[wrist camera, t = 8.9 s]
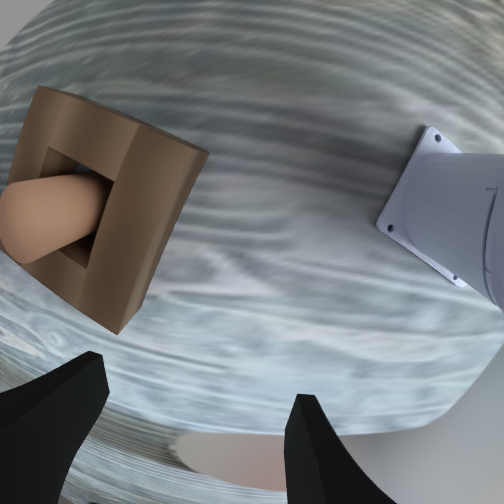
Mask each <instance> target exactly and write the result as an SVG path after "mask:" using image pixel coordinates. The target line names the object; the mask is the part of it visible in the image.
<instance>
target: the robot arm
mask: <svg viewBox="0 0 504 504" xmlns="http://www.w3.org/2000/svg"><path fill="white" fill-rule="evenodd" d="M435 135H437V137H438V141H436V140H435ZM389 225H392V230H391V231H388V230H387V228H388V226H389ZM376 226H377V228H378V229H379V230H380V231H381V232H383V233H384V234H386V235H387V236H389V237H390V238H392V239H393V240H395V241H396V242H398V243H399V244H401V245H402V246H403V247H405V248H406V249H408V250H409V251H411V252H412V253H413V254H415V255H416V256H418V257H419V258H420V259H422V260H423V261H425V262H426V263H427V264H429V265H430V266H431V267H433V268H434V269H435V270H437V271H438V272H439V273H441V274H442V275H443V276H445V277H446V278H447V279H449V280H450V281H451V282H453V283H454V284H455V285H456V286H458V287H459V288H463V287H464V286H465V285H466V284H468V285H470V286H471V287H473V288H474V289H475V290H477V291H478V292H479V293H481V294H482V295H483V296H484V297H486V298H487V299H488V300H490V301H491V302H492V303H494V304H495V305H496V306H498V307H499V308H500V309H501V310H502V312H503V314H504V155H502V154H476V153H462V152H461V151H460V150H459V149H458V148H457V147H456V146H455V145H454V144H453V143H452V142H450V141H449V140H448V139H447V138H446V137H445V136H444V135H443V134H442V133H440V132H439V131H438V130H437V129H436V128H434V127H433V126H429V127H426V128H425V130H424V132H423V134H422V136H421V138H420V140H419V142H418V144H417V146H416V148H415V150H414V152H413V154H412V156H411V158H410V160H409V162H408V164H407V166H406V168H405V170H404V172H403V174H402V176H401V178H400V180H399V182H398V183H397V185H396V187H395V189H394V191H393V193H392V194H391V196H390V198H389V200H388V202H387V203H386V205H385V207H384V209H383V210H382V212H381V214H380V216H379V217H378V219H377V222H376ZM454 274H455V277H454V278H453V276H454ZM109 393H110V391H109V387H108V382H107V377H106V372H105V367H104V362H103V356H102V355H101V354H98V353H95V352H92V351H87V352H85V353H83V354H81V355H80V356H78V357H76V358H74V359H72V360H71V361H69V362H67V363H65V364H63V365H62V366H60V367H58V368H56V369H54V370H52V371H50V372H49V373H47V374H45V375H43V376H40V377H38V378H36V379H34V380H32V381H30V382H28V383H26V384H23V385H21V386H18V387H16V388H13V389H10V390H7V391H4V392H1V393H0V504H58V500H59V496H60V493H61V490H62V487H63V484H64V481H65V478H66V476H67V473H68V471H69V468H70V466H71V464H72V461H73V459H74V457H75V455H76V453H77V451H78V450H79V448H80V446H81V445H82V443H83V441H84V440H85V438H86V437H87V435H88V433H89V432H90V430H91V428H92V427H93V425H94V424H95V422H96V420H97V419H98V417H99V415H100V414H101V412H102V409H103V407H104V405H105V403H106V400H107V398H108V395H109ZM284 460H285V473H286V487H287V500H288V504H397V503H395V502H394V501H393V500H392V499H391V498H390V497H388V496H387V495H386V494H385V493H384V492H383V491H382V490H380V489H379V488H378V487H377V486H376V485H375V484H374V483H373V482H372V480H370V478H369V477H368V476H367V475H366V474H365V473H364V472H363V470H362V469H361V468H360V467H359V466H358V464H357V463H356V462H355V460H354V459H353V458H352V456H351V455H350V454H349V452H348V451H347V450H346V448H345V447H344V445H343V444H342V442H341V440H340V439H339V437H338V436H337V434H336V433H335V431H334V429H333V428H332V426H331V424H330V422H329V421H328V419H327V417H326V415H325V413H324V412H323V410H322V408H321V406H320V404H319V402H318V400H317V398H316V397H315V395H307V394H297V396H296V399H295V402H294V405H293V408H292V411H291V414H290V416H289V419H288V422H287V425H286V428H285V440H284Z"/></svg>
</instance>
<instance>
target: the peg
mask: <svg viewBox="0 0 504 504" xmlns="http://www.w3.org/2000/svg"><path fill="white" fill-rule="evenodd" d="M114 182H115V181H113V180H111V179H109V178H107V177H105V176H104V175H102V174H100V173H98V172H88V173H79V174H70V175H62V176H54V177H47V178H40V179H34V180H28V181H22V182H16V183H12V184H10V185H8V186H7V187H6V188H5V189H4V191H3V192H2V194H1V196H0V238H1V241H2V243H3V245H4V247H5V249H6V251H7V252H8V253H9V255H10V256H11V257H12V258H13V259H15V260H16V261H18V262H20V263H23V264H27V263H31V262H33V261H35V260H37V259H39V258H41V257H43V256H45V255H47V254H49V253H51V252H53V251H55V250H57V249H59V248H61V247H63V246H65V245H67V244H69V243H72V242H74V241H76V240H78V239H80V238H82V237H85V236H87V235H89V234H91V233H93V232H96V231H98V228H99V225H100V222H101V219H102V216H103V213H104V210H105V207H106V204H107V201H108V198H109V196H110V193H111V190H112V188H113V185H114Z"/></svg>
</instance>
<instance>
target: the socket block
mask: <svg viewBox="0 0 504 504" xmlns="http://www.w3.org/2000/svg"><path fill="white" fill-rule="evenodd" d="M208 155H209V152H207V151H205V150H203V149H201V148H199V147H197V146H195V145H193V144H191V143H189V142H187V141H184V140H182V139H180V138H178V137H176V136H174V135H171V134H169V133H167V132H165V131H163V130H160V129H158V128H156V127H154V126H151V125H149V124H147V123H145V122H142V121H140V120H138V119H135V118H133V117H131V116H128V115H126V114H123V113H121V112H119V111H116V110H114V109H111V108H109V107H106V106H104V105H101V104H99V103H96V102H93V101H91V100H88V99H86V98H83V97H80V96H78V95H75V94H72V93H68V92H64V91H60V90H56V89H52V88H48V87H44V86H40V85H39V86H38V88H37V90H36V93H35V95H34V98H33V100H32V103H31V105H30V108H29V111H28V113H27V116H26V119H25V122H24V125H23V128H22V131H21V134H20V137H19V140H18V144H17V147H16V151H15V154H14V158H13V162H12V166H11V170H10V174H9V179H8V183H7V186H8V185H10V184H12V183H16V182H22V181H28V180H34V179H40V178H47V177H54V176H62V175H70V174H74V173H75V170H76V167H77V164H78V162H79V163H81V164H83V165H85V166H87V167H88V168H90V169H92V170H94V171H96V172H98V173H100V174H102V175H104V176H105V177H107V178H109V179H111V180H113V181H115V182H114V185H113V188H112V190H111V193H110V196H109V198H108V201H107V204H106V207H105V210H104V213H103V216H102V219H101V222H100V225H99V228H98V231H97V235H96V238H95V237H94V236H92V235H91V234H89V235H87V236H85V237H82V238H80V239H78V240H76V241H74V242H72V243H69V244H67V245H65V246H63V247H61V248H59V249H57V250H55V251H53V252H51V253H49V254H47V255H45V256H43V257H41V258H39V259H37V260H35V261H33V262H31V263H27V264H23V263H20V262H18V261H16V260H15V259H13V258H12V257H11V256H10V255H9V253H8V252H7V251H6V249H5V247H4V245H3V243H2V241H1V238H0V249H1V250H2V251H3V252H4V253H5V254H7V255H8V256H9V257H10V258H11V259H12V260H13V261H15V262H16V263H17V264H18V265H19V266H21V267H22V268H23V269H24V270H25V271H27V272H28V273H29V274H30V275H32V276H33V277H34V278H35V279H37V280H38V281H39V282H40V283H42V284H43V285H44V286H46V287H47V288H48V289H49V290H51V291H52V292H54V293H55V294H56V295H58V296H59V297H60V298H62V299H63V300H64V301H66V302H67V303H69V304H70V305H72V306H73V307H74V308H76V309H77V310H79V311H80V312H82V313H83V314H85V315H86V316H88V317H89V318H91V319H92V320H94V321H95V322H97V323H98V324H100V325H101V326H103V327H105V328H106V329H108V330H109V331H111V332H113V333H114V334H116V335H118V334H119V333H120V331H121V330H122V329H123V328H124V327H125V325H126V324H127V323H128V322H129V321H130V319H131V318H132V317H133V316H134V315H135V314H136V312H137V311H138V310H139V309H140V308H141V305H142V303H143V300H144V298H145V295H146V292H147V290H148V287H149V285H150V282H151V280H152V277H153V275H154V272H155V270H156V268H157V265H158V263H159V260H160V258H161V256H162V253H163V251H164V248H165V246H166V244H167V242H168V239H169V237H170V235H171V232H172V230H173V228H174V226H175V223H176V221H177V219H178V217H179V215H180V213H181V210H182V208H183V206H184V204H185V202H186V200H187V198H188V195H189V193H190V191H191V189H192V187H193V185H194V183H195V181H196V179H197V177H198V175H199V173H200V171H201V169H202V167H203V165H204V163H205V161H206V159H207V157H208Z"/></svg>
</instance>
